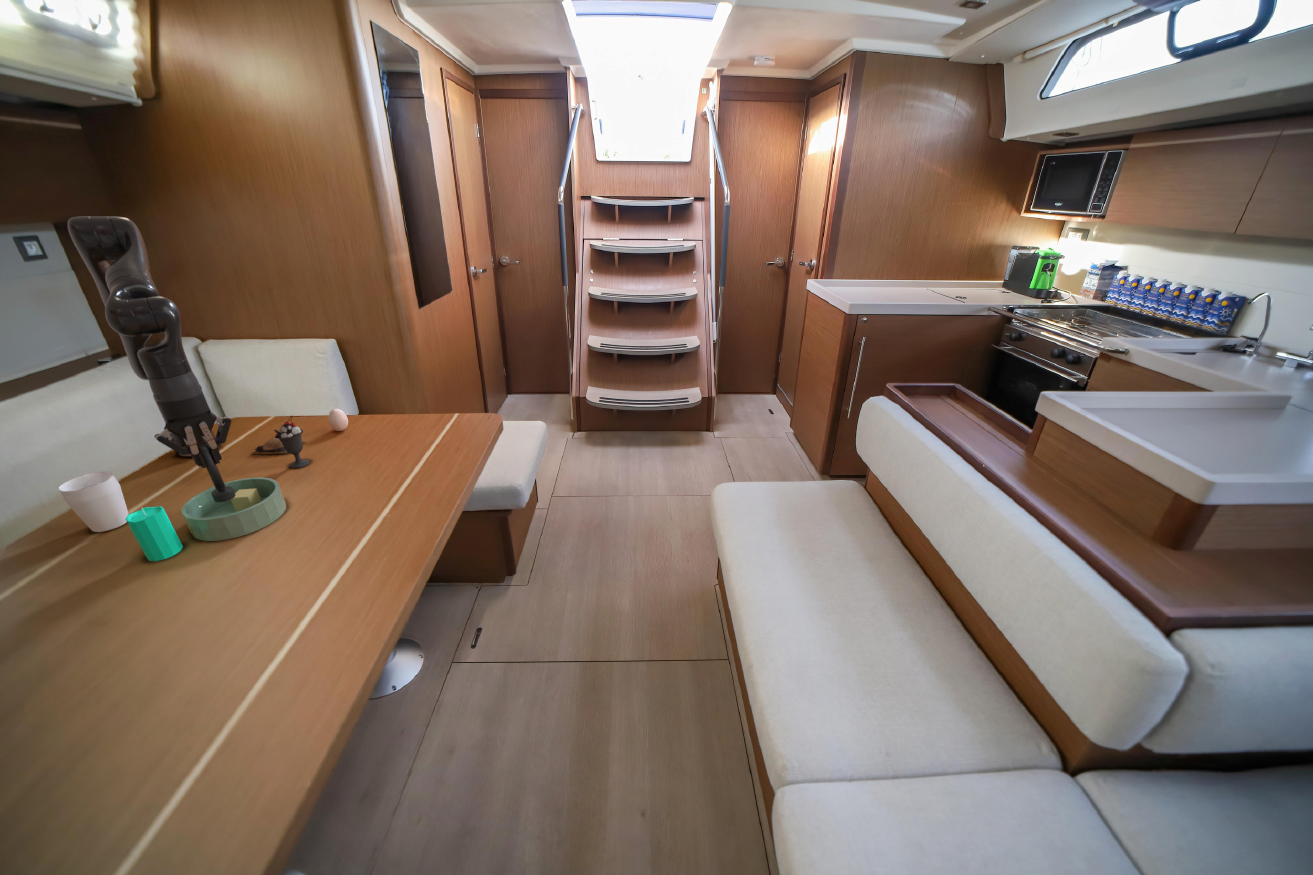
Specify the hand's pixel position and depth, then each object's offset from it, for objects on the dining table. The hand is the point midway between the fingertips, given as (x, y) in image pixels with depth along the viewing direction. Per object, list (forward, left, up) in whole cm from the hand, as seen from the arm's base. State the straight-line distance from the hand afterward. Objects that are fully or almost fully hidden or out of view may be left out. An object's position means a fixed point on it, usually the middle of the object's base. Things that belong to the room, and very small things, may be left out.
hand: (210, 464), depth 114 cm
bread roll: (-9, +41, -16) cm, 45 cm away
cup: (-29, +4, -16) cm, 34 cm away
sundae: (+2, +29, -16) cm, 34 cm away
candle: (-9, -10, -16) cm, 21 cm away
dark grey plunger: (0, 0, -9) cm, 9 cm away
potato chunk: (0, +6, -16) cm, 17 cm away
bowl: (0, +2, -16) cm, 16 cm away
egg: (+5, +52, -16) cm, 55 cm away
